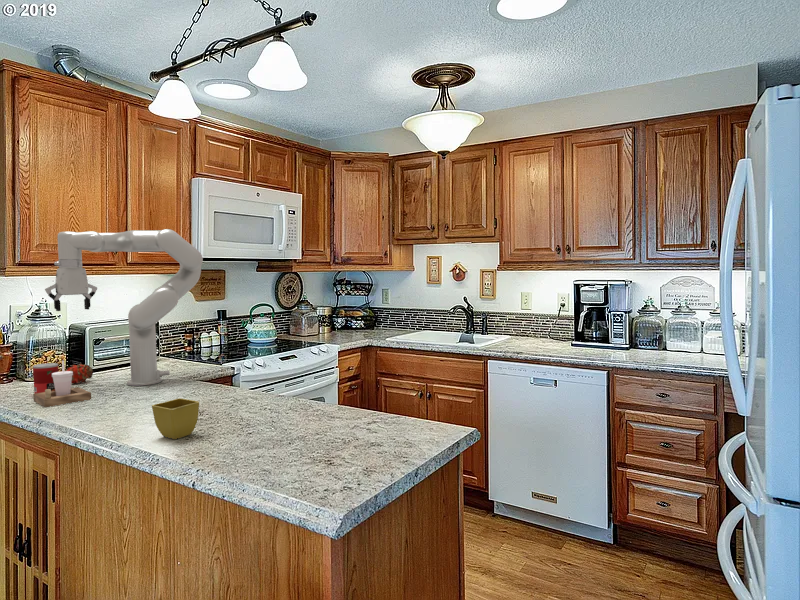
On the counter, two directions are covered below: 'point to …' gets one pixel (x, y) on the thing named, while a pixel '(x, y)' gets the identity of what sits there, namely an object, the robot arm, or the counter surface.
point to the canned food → (44, 376)
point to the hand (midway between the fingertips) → (72, 310)
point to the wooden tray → (61, 397)
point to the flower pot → (176, 417)
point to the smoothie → (62, 381)
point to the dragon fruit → (80, 373)
